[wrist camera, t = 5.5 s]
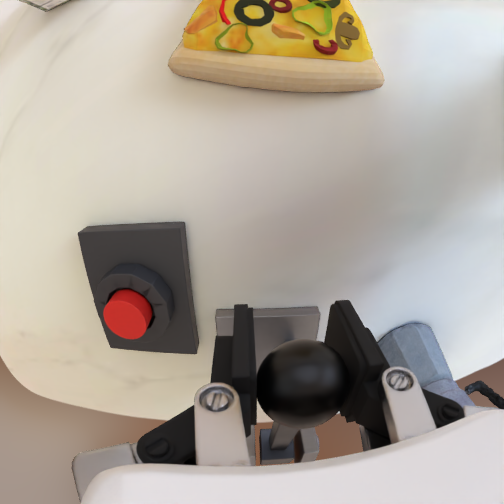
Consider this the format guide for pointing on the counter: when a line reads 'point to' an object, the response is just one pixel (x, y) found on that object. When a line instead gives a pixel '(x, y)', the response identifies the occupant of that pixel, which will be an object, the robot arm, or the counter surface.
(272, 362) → the lever
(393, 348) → the moka pot
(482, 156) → the counter surface
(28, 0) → the syrup box
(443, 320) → the counter surface
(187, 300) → the control block
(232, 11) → the pizza slice
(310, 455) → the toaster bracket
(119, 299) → the button
